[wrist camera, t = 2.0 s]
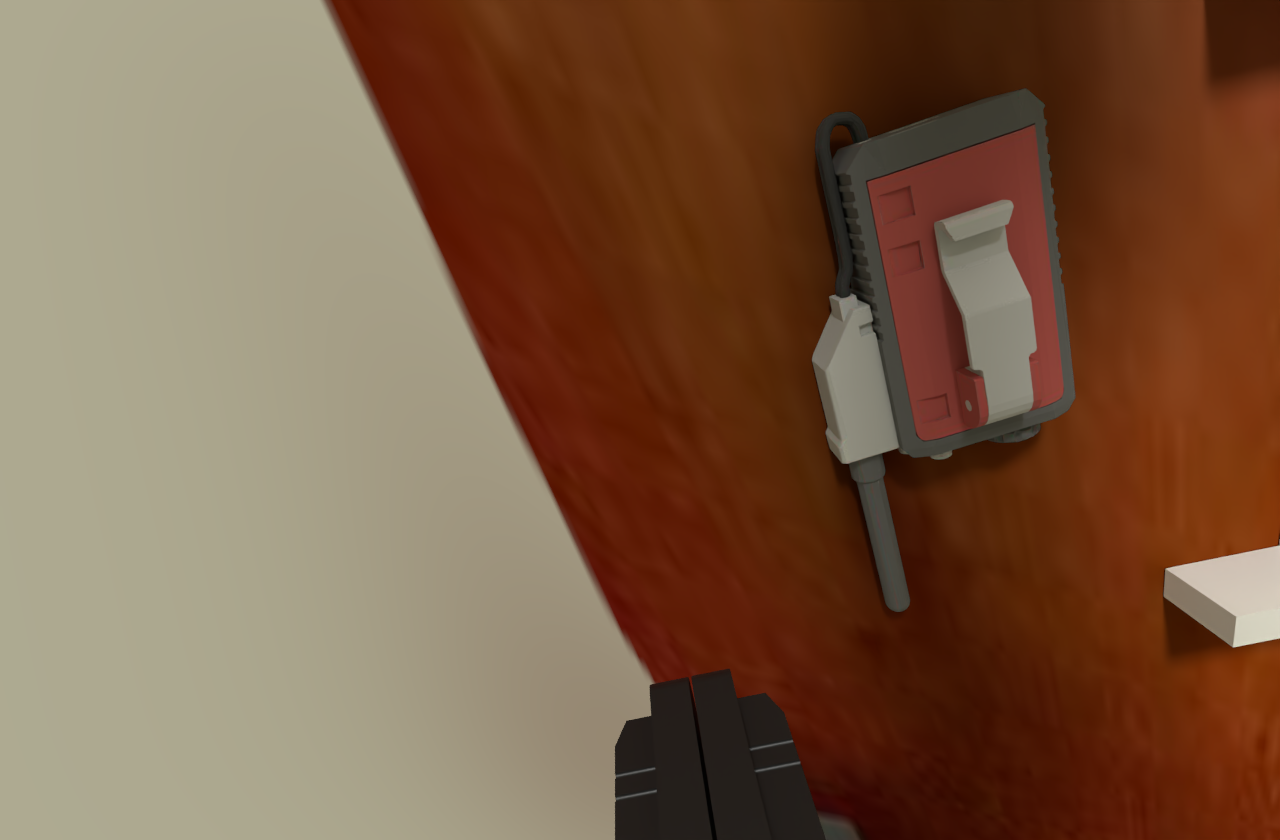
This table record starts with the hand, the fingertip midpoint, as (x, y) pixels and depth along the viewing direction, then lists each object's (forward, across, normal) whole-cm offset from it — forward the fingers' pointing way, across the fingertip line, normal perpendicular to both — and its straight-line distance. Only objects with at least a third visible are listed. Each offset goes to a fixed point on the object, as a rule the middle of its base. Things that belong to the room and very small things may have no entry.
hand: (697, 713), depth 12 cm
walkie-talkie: (+16, -11, 0) cm, 19 cm away
